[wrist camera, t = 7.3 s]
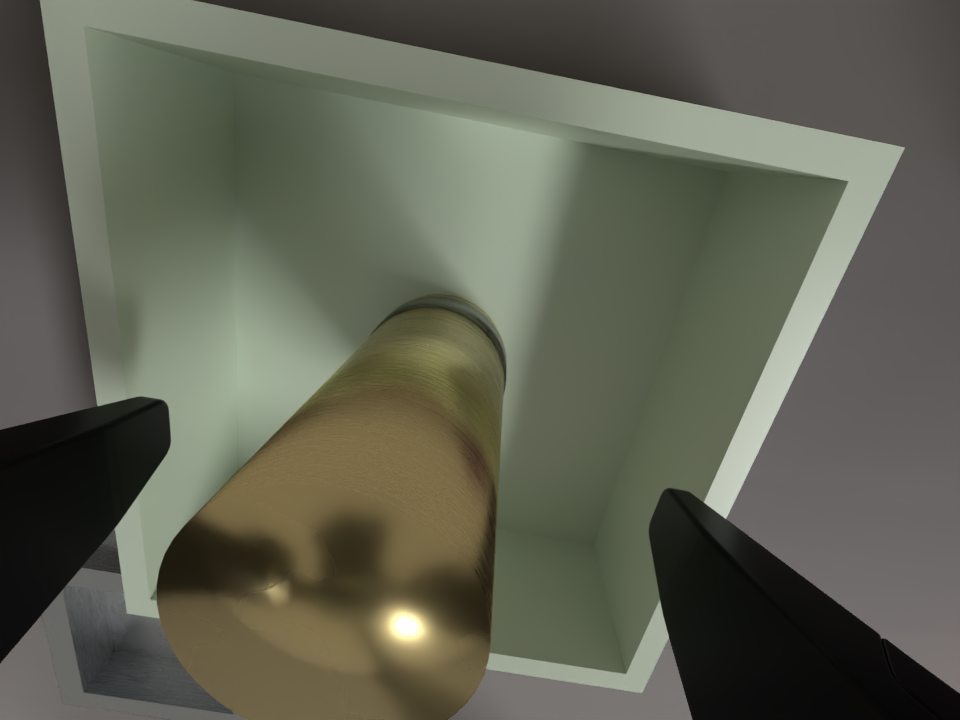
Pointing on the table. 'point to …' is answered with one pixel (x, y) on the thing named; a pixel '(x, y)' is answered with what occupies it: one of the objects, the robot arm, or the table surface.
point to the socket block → (118, 650)
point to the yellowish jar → (356, 537)
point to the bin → (447, 279)
